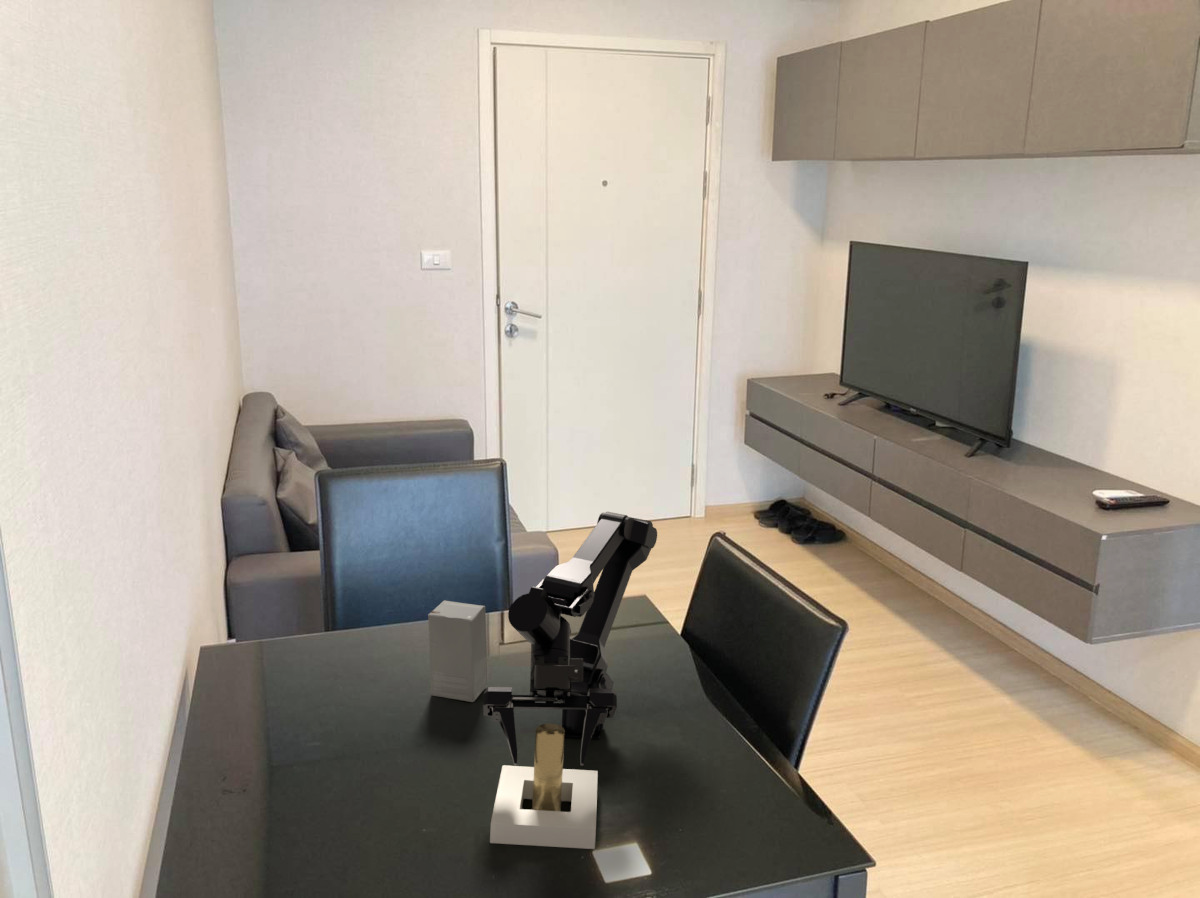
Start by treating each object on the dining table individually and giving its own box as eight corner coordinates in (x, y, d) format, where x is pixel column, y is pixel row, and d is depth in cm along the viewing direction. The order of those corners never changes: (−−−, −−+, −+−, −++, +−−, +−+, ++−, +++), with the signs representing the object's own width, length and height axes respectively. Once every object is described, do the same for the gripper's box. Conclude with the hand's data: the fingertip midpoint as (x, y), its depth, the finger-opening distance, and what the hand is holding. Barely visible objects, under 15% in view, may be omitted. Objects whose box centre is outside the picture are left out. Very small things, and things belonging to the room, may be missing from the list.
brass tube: (530, 822, 135) (534, 737, 132) (533, 805, 139) (536, 722, 136) (559, 823, 135) (564, 739, 132) (561, 806, 139) (565, 724, 136)
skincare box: (487, 687, 172) (490, 604, 168) (471, 706, 165) (473, 619, 161) (443, 679, 174) (445, 596, 170) (426, 697, 167) (427, 611, 164)
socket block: (490, 842, 130) (490, 823, 129) (501, 783, 143) (502, 765, 143) (594, 849, 130) (595, 829, 129) (596, 789, 143) (597, 770, 143)
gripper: (485, 634, 135) (480, 749, 127) (619, 637, 136) (622, 750, 128) (486, 661, 144) (481, 769, 136) (611, 663, 146) (613, 770, 138)
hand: (548, 764), depth 134 cm, fingers open, 9 cm apart
